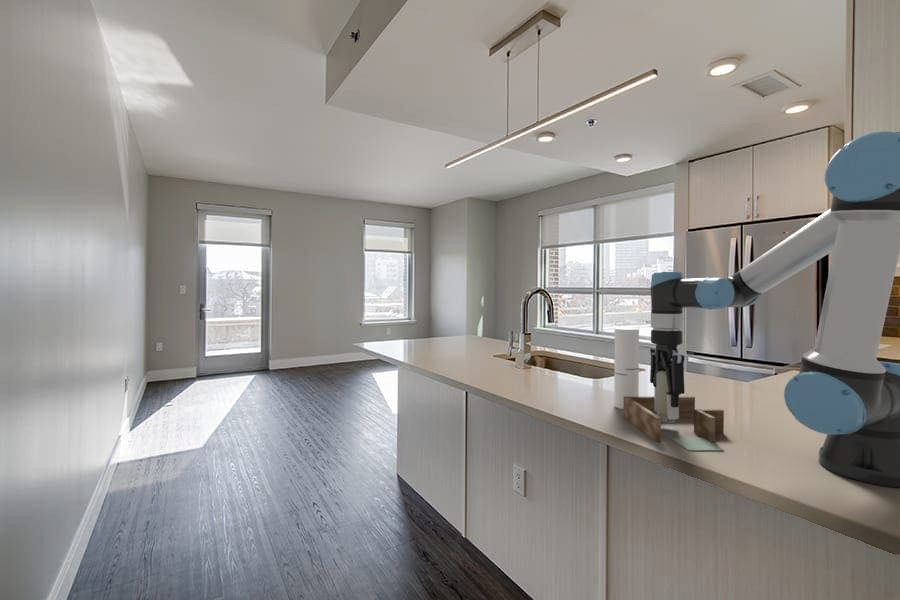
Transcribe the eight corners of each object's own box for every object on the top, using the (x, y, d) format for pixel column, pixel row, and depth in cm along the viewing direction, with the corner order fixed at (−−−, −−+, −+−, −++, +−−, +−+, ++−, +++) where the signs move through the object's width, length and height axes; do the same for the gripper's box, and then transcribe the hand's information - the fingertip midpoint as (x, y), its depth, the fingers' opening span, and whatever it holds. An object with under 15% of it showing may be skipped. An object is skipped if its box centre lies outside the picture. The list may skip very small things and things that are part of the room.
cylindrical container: (641, 410, 131) (641, 329, 130) (616, 409, 133) (616, 329, 132) (635, 403, 138) (636, 327, 137) (612, 402, 140) (612, 327, 139)
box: (674, 424, 111) (674, 375, 110) (655, 421, 113) (656, 373, 113) (676, 418, 115) (676, 371, 115) (658, 416, 118) (658, 370, 117)
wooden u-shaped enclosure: (738, 441, 104) (738, 417, 104) (656, 441, 105) (656, 417, 104) (692, 416, 124) (692, 396, 124) (623, 416, 125) (623, 396, 125)
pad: (723, 451, 98) (723, 449, 98) (688, 451, 98) (688, 449, 98) (703, 438, 106) (703, 437, 106) (671, 438, 106) (671, 437, 106)
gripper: (701, 332, 104) (700, 426, 104) (662, 325, 123) (662, 404, 124) (670, 333, 104) (670, 426, 104) (636, 326, 123) (636, 405, 124)
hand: (666, 414), depth 114 cm, fingers closed on box, 6 cm apart
